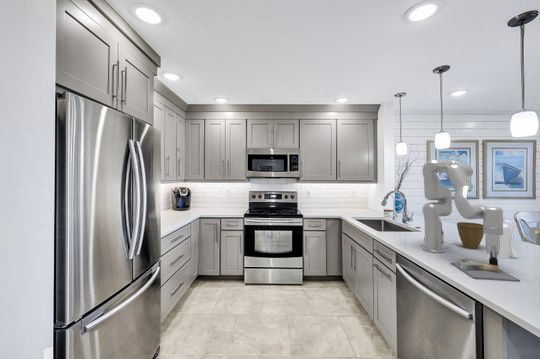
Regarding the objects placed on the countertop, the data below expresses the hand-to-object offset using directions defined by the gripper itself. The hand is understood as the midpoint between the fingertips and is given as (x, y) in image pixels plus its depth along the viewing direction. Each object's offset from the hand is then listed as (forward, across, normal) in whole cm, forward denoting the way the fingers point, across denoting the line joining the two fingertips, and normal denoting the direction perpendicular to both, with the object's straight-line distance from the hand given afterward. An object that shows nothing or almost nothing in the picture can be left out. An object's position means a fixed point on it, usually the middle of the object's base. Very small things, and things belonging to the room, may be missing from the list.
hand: (493, 266), depth 121 cm
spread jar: (+2, -46, -31) cm, 56 cm away
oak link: (+1, +3, -6) cm, 7 cm away
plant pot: (+2, -43, -10) cm, 44 cm away
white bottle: (+2, -31, +5) cm, 31 cm away
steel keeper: (+2, +8, -9) cm, 12 cm away
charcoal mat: (+2, +6, -4) cm, 8 cm away
